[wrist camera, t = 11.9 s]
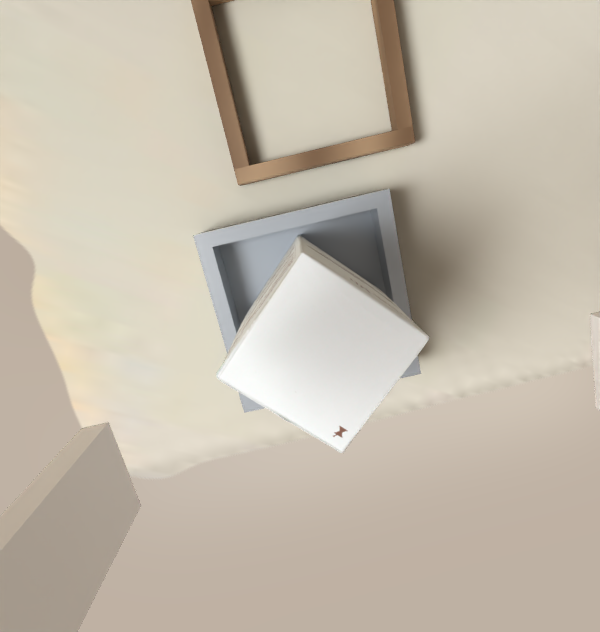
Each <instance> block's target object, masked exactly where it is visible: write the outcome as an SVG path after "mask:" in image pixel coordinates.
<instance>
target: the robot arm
mask: <svg viewBox="0 0 600 632" xmlns="http://www.w3.org/2000/svg"><path fill="white" fill-rule="evenodd" d="M590 324H591V340H592V356H593V372H594V387H595V403H596V408H597V409H598V410H600V312H596V313H592V314H590ZM140 507H141V504H140V501H139V499H138V496H137V494H136V491H135V489H134V486H133V483H132V481H131V478H130V476H129V473H128V471H127V468H126V465H125V463H124V460H123V458H122V455H121V453H120V450H119V448H118V445H117V443H116V440H115V437H114V435H113V432H112V430H111V427H110V425H109V422H107V423H103V424H98V425H94V426H90V427H85V428H82V429H81V430H80V431H79V432H78V433H77V434H76V435H75V436H74V437H73V438H72V439H71V441H70V442H69V443H68V444H67V445H66V446H65V447H64V448H63V449H62V450H61V451H60V452H59V453H58V454H57V456H56V457H55V458H54V459H53V460H52V461H51V462H50V463H49V464H48V465H47V466H46V467H45V469H44V470H43V471H42V472H41V473H40V474H39V475H38V476H37V477H36V478H35V479H34V480H33V481H32V482H31V483H30V484H29V486H28V487H27V488H26V489H25V490H24V491H23V492H22V493H21V494H20V495H19V496H18V497H17V498H16V499H15V501H14V502H13V503H12V504H11V505H10V506H9V507H8V508H7V510H5V511H4V512H3V513H2V515H1V516H0V632H78V630H79V628H80V626H81V624H82V622H83V620H84V618H85V616H86V614H87V612H88V610H89V608H90V606H91V604H92V602H93V600H94V598H95V596H96V594H97V592H98V590H99V588H100V586H101V584H102V582H103V580H104V578H105V576H106V574H107V572H108V570H109V568H110V566H111V564H112V562H113V560H114V558H115V556H116V554H117V552H118V550H119V548H120V547H121V545H122V543H123V541H124V539H125V536H126V535H127V533H128V530H129V529H130V526H131V524H132V523H133V521H134V519H135V517H136V514H137V513H138V511H139V509H140Z"/></svg>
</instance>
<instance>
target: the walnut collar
mask: <svg viewBox="0 0 600 632" xmlns="http://www.w3.org/2000/svg"><path fill="white" fill-rule="evenodd" d="M230 1H233V0H191V2H192V6H193V10H194V14H195V18H196V22H197V26H198V30H199V34H200V38H201V41H202V45H203V49H204V53H205V57H206V61H207V65H208V69H209V73H210V77H211V81H212V85H213V88H214V92H215V96H216V100H217V104H218V108H219V112H220V116H221V120H222V124H223V128H224V131H225V135H226V139H227V143H228V147H229V151H230V155H231V159H232V163H233V167H234V171H235V175H236V178H237V182H238V185H240V186H242V185H246V184H250V183H254V182H258V181H262V180H267V179H271V178H275V177H279V176H283V175H287V174H291V173H296V172H300V171H304V170H308V169H312V168H316V167H320V166H325V165H329V164H333V163H337V162H341V161H345V160H350V159H354V158H358V157H362V156H366V155H370V154H374V153H379V152H383V151H387V150H391V149H395V148H399V147H403V146H408V145H410V144H412V143H414V142H415V137H414V131H413V124H412V117H411V111H410V104H409V98H408V91H407V84H406V78H405V71H404V65H403V58H402V51H401V45H400V38H399V32H398V25H397V18H396V12H395V5H394V0H371V5H372V11H373V17H374V23H375V29H376V36H377V42H378V48H379V54H380V60H381V66H382V72H383V78H384V84H385V91H386V97H387V103H388V109H389V115H390V121H391V127H392V131H390V132H386V133H382V134H378V135H374V136H370V137H366V138H361V139H357V140H353V141H349V142H345V143H341V144H337V145H333V146H329V147H324V148H320V149H316V150H312V151H308V152H304V153H300V154H296V155H291V156H287V157H283V158H279V159H275V160H271V161H267V162H263V163H258V164H254V165H250V162H249V158H248V154H247V150H246V146H245V142H244V138H243V133H242V129H241V125H240V121H239V117H238V113H237V109H236V105H235V101H234V97H233V93H232V89H231V85H230V81H229V76H228V72H227V68H226V64H225V60H224V56H223V52H222V48H221V44H220V40H219V36H218V32H217V28H216V24H215V20H214V15H213V11H212V7H211V6H214V5H218V4H222V3H226V2H230Z"/></svg>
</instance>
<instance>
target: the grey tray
mask: <svg viewBox="0 0 600 632" xmlns="http://www.w3.org/2000/svg"><path fill="white" fill-rule="evenodd" d="M298 235H301V236H302V237H304V238H305V239H306V240H308V241H309V242H311V243H312V244H314V245H315V246H317V247H318V248H319V249H321V250H322V251H324V252H325V253H327V254H328V255H330V256H331V257H333V258H334V259H336V260H337V261H339V262H340V263H342V264H343V265H345V266H346V267H348V268H349V269H350V270H352V271H353V272H355V273H356V274H358V275H359V276H361V277H362V278H364V279H365V280H367V281H368V282H370V283H371V284H373V285H374V286H376V287H378V288H379V289H380V290H381V291H382V292H383V293H384V294H386V295H387V296H388V297H389V298H390V299H391V300H392V301H393V302H394V303H395V304H396V305H397V306H398V307H399V308H400V309H401V310H402V311H403V312H404V313H405V314H406V315H407V316H408V317H409V318H410V319H411V320H412V318H411V313H410V307H409V301H408V295H407V289H406V283H405V277H404V271H403V266H402V260H401V254H400V248H399V242H398V236H397V230H396V224H395V219H394V213H393V207H392V201H391V195H390V189H385V190H379V191H375V192H371V193H367V194H363V195H358V196H354V197H350V198H346V199H341V200H337V201H333V202H329V203H325V204H320V205H316V206H312V207H308V208H304V209H299V210H295V211H291V212H287V213H283V214H278V215H274V216H270V217H266V218H261V219H257V220H253V221H249V222H245V223H240V224H236V225H232V226H228V227H224V228H219V229H215V230H211V231H207V232H203V233H199V234H196V235H193V236H194V240H195V243H196V247H197V250H198V254H199V257H200V261H201V264H202V267H203V271H204V274H205V278H206V281H207V285H208V288H209V292H210V295H211V299H212V302H213V306H214V309H215V312H216V316H217V319H218V323H219V326H220V330H221V333H222V337H223V340H224V344H225V347H226V351H227V354H228V351H229V349H230V347H231V345H232V343H233V341H234V338H235V336H236V334H237V332H238V330H239V328H240V326H241V324H242V322H243V320H244V318H245V316H246V314H247V312H248V311H249V309H250V308H251V306H252V305H253V303H254V301H255V300H256V298H257V297H258V295H259V294H260V292H261V290H262V289H263V287H264V286H265V284H266V283H267V281H268V280H269V278H270V277H271V275H272V274H273V272H274V271H275V269H276V268H277V266H278V264H279V263H280V261H281V260H282V258H283V257H284V255H285V254H286V252H287V251H288V249H289V248H290V246H291V245H292V243H293V242H294V240H295V239H296V237H297V236H298ZM417 374H421V371H420V365H419V360H418V355H417V357H416V358H415V359H414V360H413V362H412V363H411V364H410V366H409V367H408V368H407V369H406V371H405V372H404V373H403V375H402V376H401V377H400V378H404V377H408V376H413V375H417ZM239 395H240V399H241V402H242V406H243V409H244V413H245V412H249V411H254V410H258V409H263V408H265V407H263V406H261V405H260V404H258V403H256V402H255V401H253V400H251V399H250V398H248V397H246V396H245V395H243V394H241V393H239Z"/></svg>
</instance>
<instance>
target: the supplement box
mask: <svg viewBox="0 0 600 632" xmlns="http://www.w3.org/2000/svg"><path fill="white" fill-rule="evenodd" d="M428 340H429V336H428V335H427V334H426V333H425V332H424V331H423V330H421V329H420V328H419V327H418V326H417V325H416V324H415V323H414V322H413V321H412V320H411V319H410V318H409V317H408V316H407V315H406V314H405V313H404V312H403V311H402V310H401V309H400V308H399V307H398V306H397V305H396V304H395V303H394V302H393V301H392V300H391V299H390V298H389V297H388V296H387V295H386V294H384V293H383V292H382V291H381V290H380V289H379V288H378V287H376V286H374V285H373V284H371V283H370V282H368V281H367V280H365V279H364V278H362V277H361V276H359V275H358V274H356V273H355V272H353V271H352V270H350V269H349V268H348V267H346V266H345V265H343V264H342V263H340V262H339V261H337V260H336V259H334V258H333V257H331V256H330V255H328V254H327V253H325V252H324V251H322V250H321V249H319V248H318V247H317V246H315V245H314V244H312V243H311V242H309V241H308V240H306V239H305V238H304V237H302V236H301V235H298V236H297V237H296V239H295V240H294V242H293V243H292V245H291V246H290V248H289V249H288V251H287V252H286V254H285V255H284V257H283V258H282V260H281V261H280V263H279V264H278V266H277V268H276V269H275V271H274V272H273V274H272V275H271V277H270V278H269V280H268V281H267V283H266V284H265V286H264V287H263V289H262V290H261V292H260V294H259V295H258V297H257V298H256V300H255V301H254V303H253V305H252V306H251V308H250V309H249V311H248V312H247V314H246V316H245V318H244V320H243V322H242V324H241V326H240V328H239V330H238V332H237V334H236V336H235V338H234V341H233V343H232V345H231V347H230V349H229V351H228V354H227V356H226V358H225V360H224V362H223V364H222V365H221V367H220V369H219V370H218V372H217V374H216V377H217V378H218V379H219V380H220V381H221V382H222V383H224V384H226V385H228V386H229V387H231V388H232V389H234V390H236V391H238V392H239V393H241V394H243V395H245V396H246V397H248V398H250V399H251V400H253V401H255V402H256V403H258V404H260V405H261V406H263V407H265V408H266V409H268V410H270V411H271V412H273V413H275V414H276V415H278V416H279V417H281V418H282V419H284V420H286V421H287V422H289V423H292V424H293V425H295V426H297V427H298V428H300V429H302V430H303V431H305V432H307V433H308V434H310V435H312V436H314V437H315V438H317V439H319V440H320V441H322V442H324V443H325V444H327V445H329V446H330V447H332V448H333V449H335V450H336V451H338V452H340V453H343V452H344V451H345V450H346V448H347V447H348V446H349V444H350V443H351V442H352V440H353V439H354V437H355V436H356V435H357V434H358V432H359V431H360V429H361V428H362V427H363V425H364V424H365V423H366V421H367V420H368V419H369V417H370V416H371V415H372V414H373V412H374V411H375V410H376V408H377V407H378V406H379V405H380V403H381V402H382V401H383V399H384V398H385V397H386V395H387V394H388V393H389V392H390V390H391V389H392V388H393V386H394V385H395V384H396V383H397V381H398V380H399V379H400V377H401V376H402V375H403V373H404V372H405V371H406V369H407V368H408V367H409V366H410V364H411V363H412V362H413V360H414V359H415V358H416V357H417V355H418V354H419V353H420V351H421V350H422V349H423V347H424V346H425V344H426V343H427V342H428Z"/></svg>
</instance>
